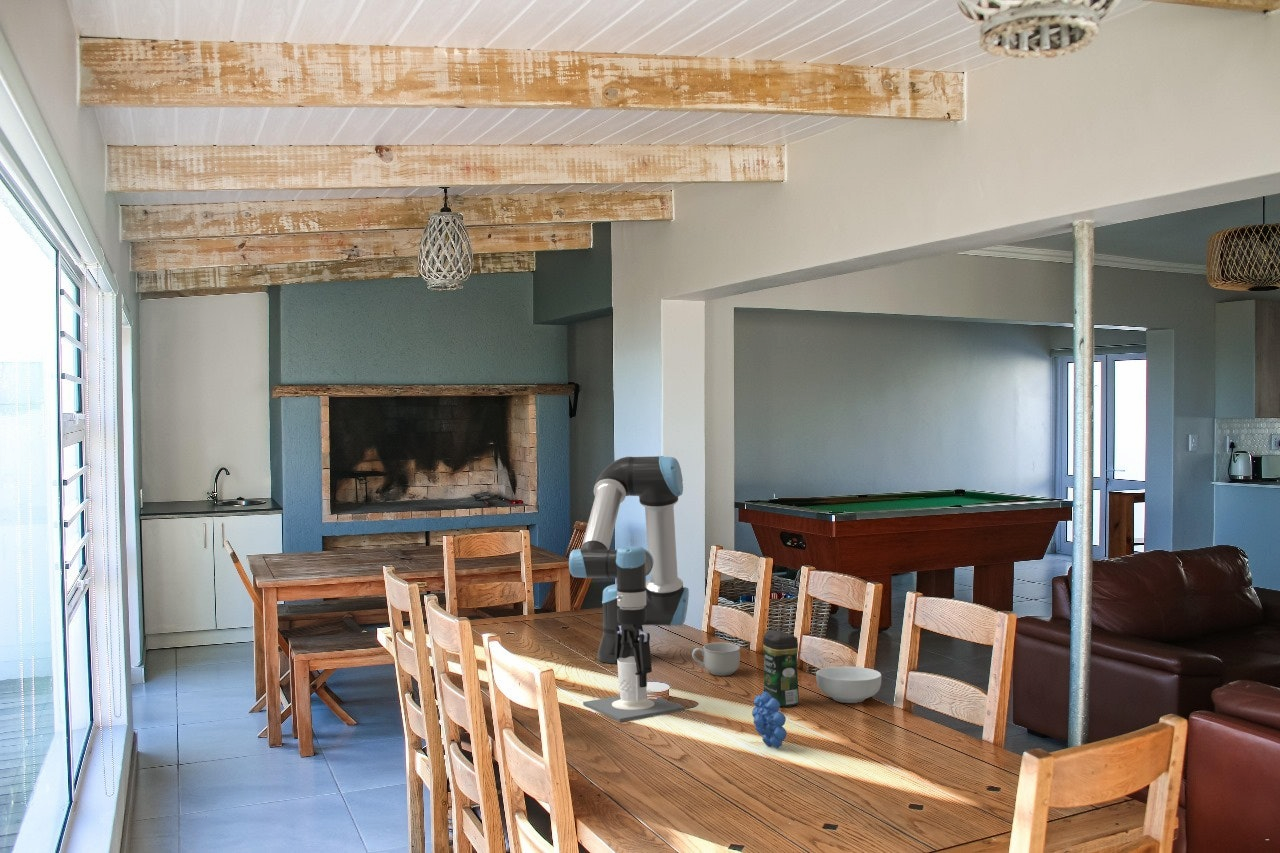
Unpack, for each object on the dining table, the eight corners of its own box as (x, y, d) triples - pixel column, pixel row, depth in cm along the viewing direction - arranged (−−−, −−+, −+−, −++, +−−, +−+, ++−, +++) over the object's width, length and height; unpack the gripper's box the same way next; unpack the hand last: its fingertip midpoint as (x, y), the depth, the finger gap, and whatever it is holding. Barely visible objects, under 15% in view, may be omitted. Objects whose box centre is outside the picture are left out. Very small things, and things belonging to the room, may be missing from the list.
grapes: (739, 742, 247) (738, 690, 247) (763, 737, 251) (763, 686, 250) (768, 755, 237) (767, 701, 237) (793, 751, 240) (792, 697, 240)
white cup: (617, 694, 282) (616, 656, 282) (647, 693, 282) (646, 655, 282) (618, 702, 274) (618, 663, 274) (649, 701, 275) (649, 662, 274)
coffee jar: (759, 700, 284) (758, 629, 283) (786, 697, 286) (785, 627, 286) (775, 709, 275) (774, 636, 274) (803, 706, 277) (802, 633, 277)
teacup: (740, 669, 318) (740, 642, 318) (740, 678, 308) (740, 650, 308) (693, 668, 320) (693, 641, 320) (691, 677, 309) (691, 649, 309)
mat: (583, 705, 281) (583, 701, 281) (645, 694, 291) (645, 690, 291) (619, 722, 265) (619, 718, 265) (684, 710, 275) (684, 706, 275)
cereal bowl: (894, 698, 284) (893, 671, 284) (860, 711, 271) (859, 683, 271) (838, 688, 295) (838, 662, 295) (803, 700, 283) (803, 673, 283)
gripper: (599, 603, 285) (601, 689, 285) (639, 614, 267) (641, 706, 268) (624, 600, 289) (625, 685, 289) (665, 611, 271) (666, 702, 271)
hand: (633, 695), depth 278 cm, fingers closed on white cup, 7 cm apart
